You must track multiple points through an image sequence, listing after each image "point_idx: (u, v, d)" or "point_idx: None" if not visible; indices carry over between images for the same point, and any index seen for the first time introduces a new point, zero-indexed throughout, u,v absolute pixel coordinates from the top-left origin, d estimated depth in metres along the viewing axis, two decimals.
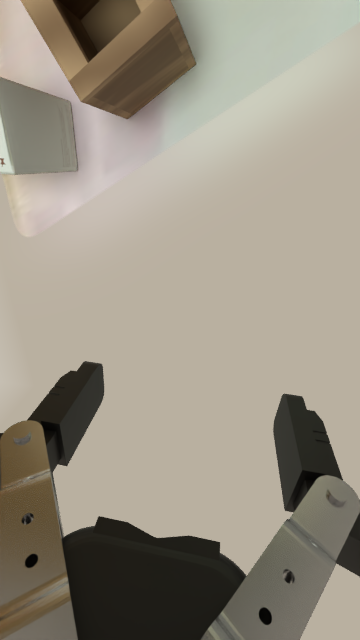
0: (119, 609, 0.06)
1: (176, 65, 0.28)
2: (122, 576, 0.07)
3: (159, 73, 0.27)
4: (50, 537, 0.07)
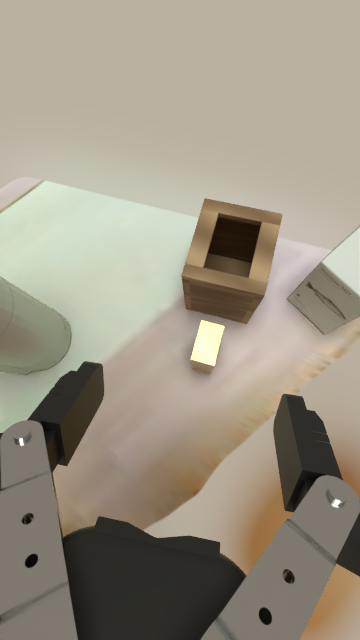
0: (119, 609, 0.06)
1: None
2: (122, 576, 0.07)
3: None
4: (50, 537, 0.07)
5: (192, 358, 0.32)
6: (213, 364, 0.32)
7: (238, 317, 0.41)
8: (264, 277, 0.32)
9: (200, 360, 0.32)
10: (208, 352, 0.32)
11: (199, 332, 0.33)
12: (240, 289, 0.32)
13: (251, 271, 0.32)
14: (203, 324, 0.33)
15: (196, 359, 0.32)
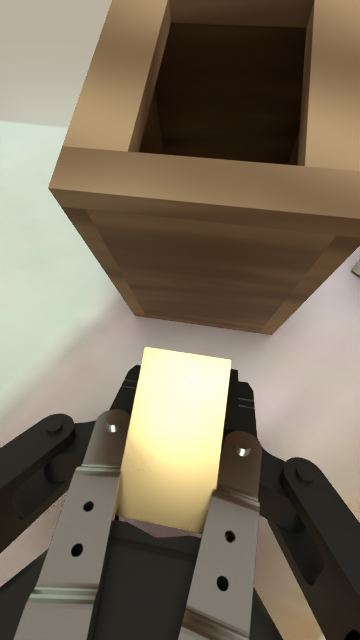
0: (119, 609, 0.06)
1: None
2: (122, 576, 0.07)
3: None
4: (99, 536, 0.07)
5: (118, 509, 0.08)
6: None
7: (254, 322, 0.17)
8: None
9: (151, 515, 0.08)
10: (181, 474, 0.08)
11: (141, 394, 0.09)
12: (280, 210, 0.08)
13: (311, 142, 0.08)
14: (153, 362, 0.09)
15: (135, 512, 0.08)
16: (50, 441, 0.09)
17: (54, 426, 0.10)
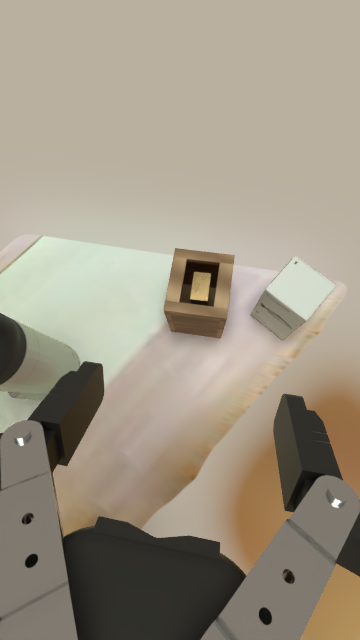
0: (119, 609, 0.06)
1: None
2: (122, 576, 0.07)
3: None
4: (50, 537, 0.07)
5: (191, 298, 0.44)
6: (206, 300, 0.44)
7: (212, 334, 0.51)
8: (225, 305, 0.42)
9: (197, 298, 0.44)
10: (202, 292, 0.45)
11: (193, 280, 0.45)
12: (208, 316, 0.42)
13: (215, 301, 0.43)
14: (195, 274, 0.45)
15: (194, 298, 0.44)
16: None
17: None
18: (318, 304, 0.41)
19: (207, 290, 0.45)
